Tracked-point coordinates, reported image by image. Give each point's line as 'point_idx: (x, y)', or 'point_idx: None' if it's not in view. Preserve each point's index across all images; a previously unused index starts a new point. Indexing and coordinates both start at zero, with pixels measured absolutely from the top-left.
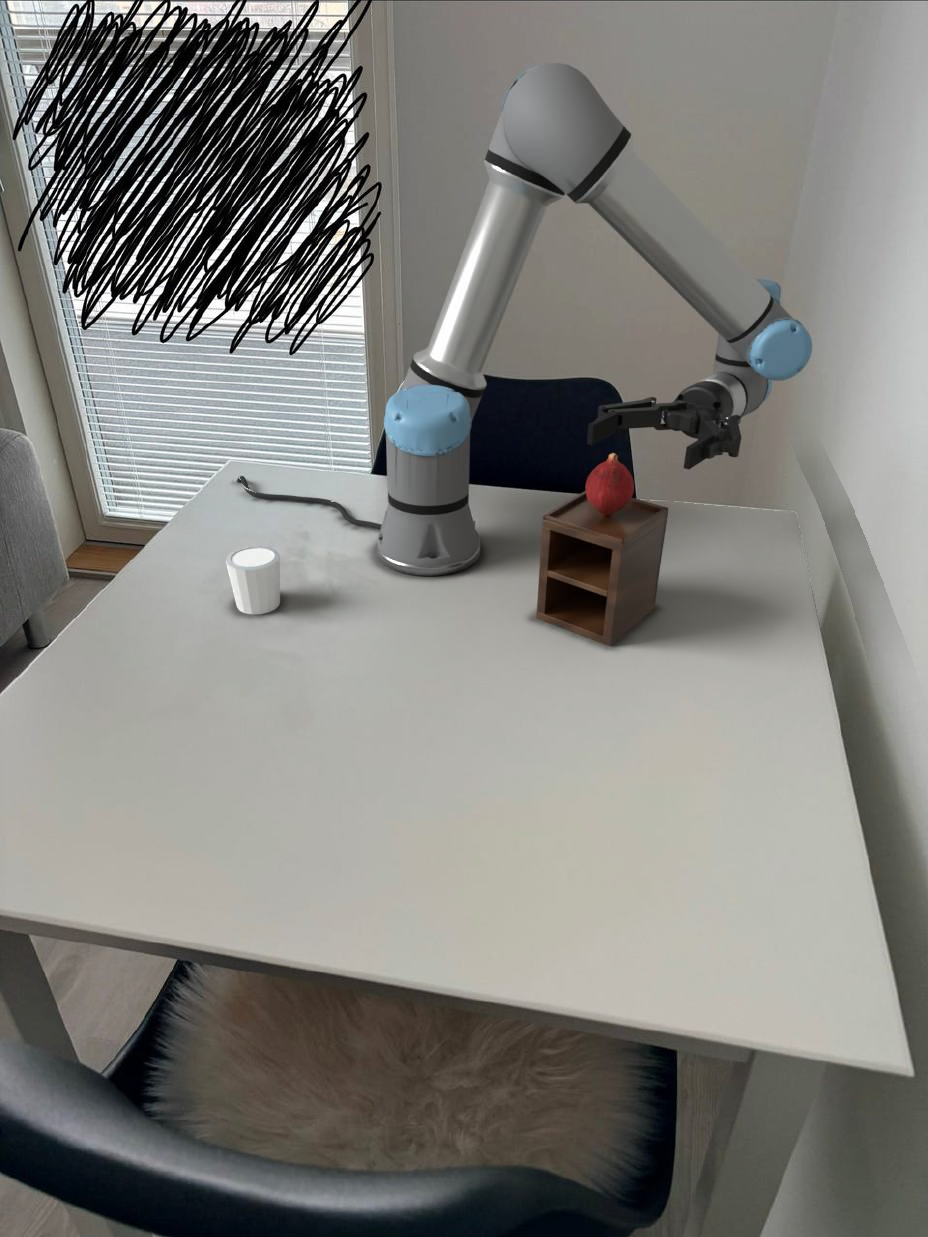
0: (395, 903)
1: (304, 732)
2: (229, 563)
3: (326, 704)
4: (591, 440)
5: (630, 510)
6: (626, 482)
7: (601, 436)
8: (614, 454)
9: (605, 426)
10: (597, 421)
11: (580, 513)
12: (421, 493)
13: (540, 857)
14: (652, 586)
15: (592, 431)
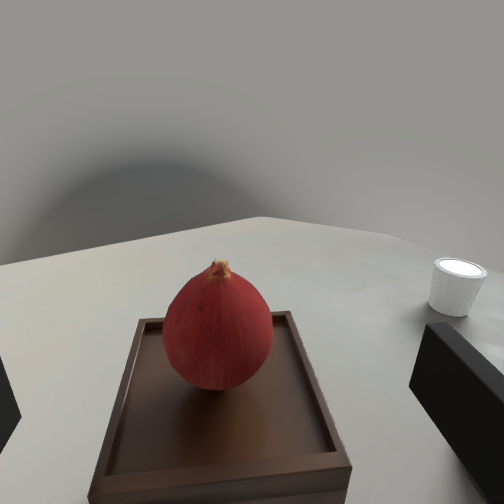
0: (158, 247)
1: (274, 268)
2: (453, 258)
3: (289, 280)
4: (414, 372)
5: (191, 438)
6: (171, 304)
7: (455, 434)
8: (216, 261)
9: (489, 432)
10: (467, 354)
11: (265, 363)
12: None
13: (110, 275)
14: None
15: (422, 345)
